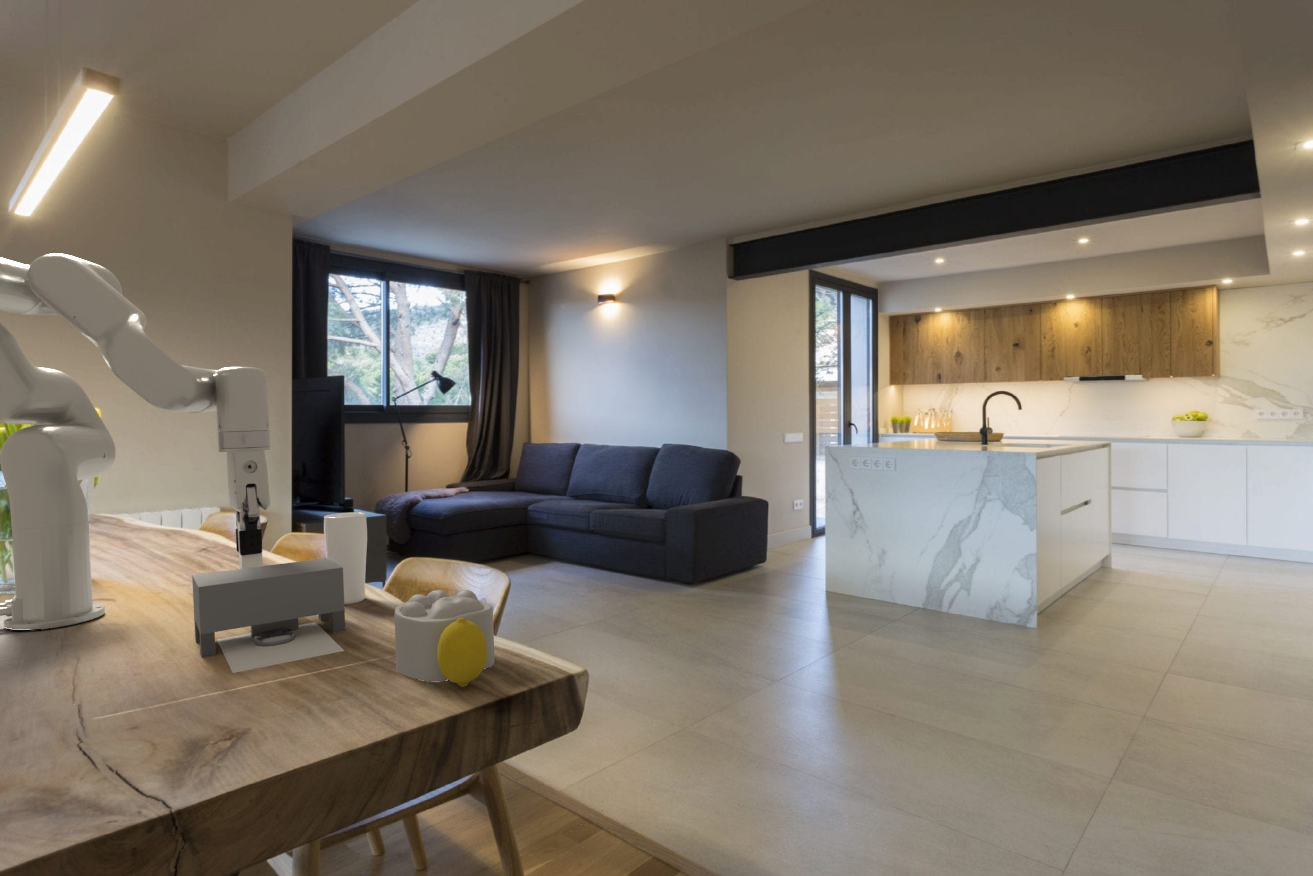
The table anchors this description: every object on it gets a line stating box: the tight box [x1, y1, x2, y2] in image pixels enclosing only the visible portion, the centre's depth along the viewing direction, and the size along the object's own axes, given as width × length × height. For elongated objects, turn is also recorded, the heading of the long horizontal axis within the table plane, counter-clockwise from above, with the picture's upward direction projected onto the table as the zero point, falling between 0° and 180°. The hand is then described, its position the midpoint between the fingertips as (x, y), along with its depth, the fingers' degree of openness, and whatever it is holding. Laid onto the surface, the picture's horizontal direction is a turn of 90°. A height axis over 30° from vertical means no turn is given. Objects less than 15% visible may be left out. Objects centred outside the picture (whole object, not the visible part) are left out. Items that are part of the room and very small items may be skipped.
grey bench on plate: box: [192, 557, 346, 658], centre depth 106 cm, size 18×10×10 cm, turn 126°
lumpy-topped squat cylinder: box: [393, 589, 496, 681], centre depth 92 cm, size 10×13×9 cm
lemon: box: [437, 618, 487, 688], centre depth 84 cm, size 6×6×8 cm
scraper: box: [236, 521, 299, 638], centre depth 114 cm, size 6×23×14 cm, turn 37°
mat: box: [216, 622, 345, 674], centre depth 101 cm, size 13×18×1 cm
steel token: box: [255, 629, 295, 646], centre depth 103 cm, size 5×5×1 cm
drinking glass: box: [323, 511, 368, 605], centre depth 125 cm, size 7×7×15 cm
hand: (249, 551), depth 122 cm, fingers closed on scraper, 3 cm apart
